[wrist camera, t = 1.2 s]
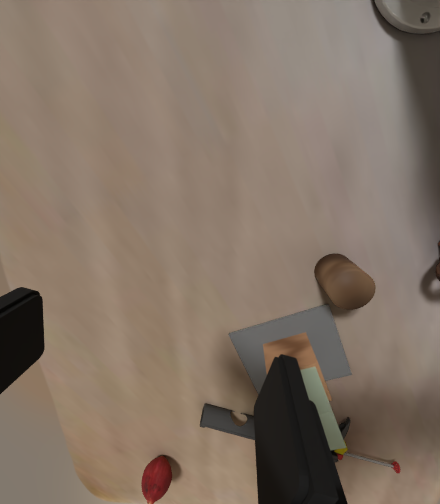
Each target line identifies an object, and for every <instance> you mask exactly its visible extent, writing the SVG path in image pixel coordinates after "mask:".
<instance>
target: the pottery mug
mask: <svg viewBox="0 0 440 504" xmlns="http://www.w3.org/2000/svg"><path fill="white" fill-rule="evenodd" d="M438 245H439V246H440V241H439V243H438ZM439 261H440V258H439ZM436 276H437V278H438V279H439V281H440V262H439V264H438V265H437V266H436Z"/></svg>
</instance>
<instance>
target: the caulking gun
mask: <svg viewBox="0 0 440 504" xmlns="http://www.w3.org/2000/svg"><path fill="white" fill-rule="evenodd" d="M203 409H204V410H203V411H202V415H201V421H200V427H203V428H205V427H208V428H212V429H215V430H219V431H223V432H226V433H230V434H234V435H237V436H241V437H245V438H248V439H252V440H255V428H254V417H253V416H250V415H246V414H244V415H246V416H247V418H248V420H247V422H246V423H245V424H244V425H243V426H237V425H235V424H234V422H233V421H232V419H231V415H230V412H231V410H228V409H224V408H220V407H217V406H213V405H209V404H205V405H204V408H203ZM233 412H235V411H233ZM241 414H242V413H241ZM349 424H350V419H349V417H348V419H347V421H346V423H345V424H344V423H341V424H340V426H339V429H340V432H341V435H342V437H343V440H344V438H345V436H346V434H347V431H348V428H349ZM344 443H345V445H346V442H345V440H344ZM347 450H348V448H347V445H346V448H342V449H336V450H330V451H331V454H332V457H333V460H334V462H337V461H338V459H339V460H341V459H342V458H343V454H344V455H347V456H351V457H355V458H359V459H362V460H366V461H370V462H373V463H377V464H381V465H384V466H388V467H392V468H393V469H394V470H395V472H396V473H400V466H399V464H398V463H397V462H396V461H395V462H393V463H391V464H388V463H384V462H380V461H376V460H373V459H369V458H365V457H362V456H358V455H354V454H351V453H347V452H346V451H347ZM396 464H397V465H396Z"/></svg>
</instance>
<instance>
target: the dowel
mask: <svg viewBox="0 0 440 504" xmlns="http://www.w3.org/2000/svg"><path fill="white" fill-rule="evenodd" d="M314 273H315V277H316V279H317V281H318V282H319V283H320V285H321V286H322V288H323V289H324V290H325V292H326V293H327V295H328V296H329V297H330V299H331V300H332V302H333V303H334V304H335V305H336V306H338V307H340V308H342V309H347V310H352V309H357V308H360V307H363V306H364V305H366V304H367V303H368V302H369V301H370V300H371V299H372V298H373V296H374V293H375V283H374V281H373V279H372V278H371V277H370V276H369V275H368V274H366V273H365V272H364V271H363V270H362V269H360V268H359V267H358V266H357V265H355V264H354V263H353V262H352V261H350V260H349V259H348V258H347V257H345V256H343V255H341V254H329V255H326V256H324V257H323V258H321V259H320V260H319V261H318V263H317V264H316V266H315V270H314Z"/></svg>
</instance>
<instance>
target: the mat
mask: <svg viewBox="0 0 440 504" xmlns="http://www.w3.org/2000/svg"><path fill="white" fill-rule="evenodd" d="M305 332H306V334H307V337H308V339H309V341H310V344H311V346H312V349H313V351H314V354H315V356H316V359H317V361H318V364H319V366H320V369H321V372H322V374H323V377H324V380H325V381H327V380H331V379H336V378H340V377H344V376H349V375H352V374H351V371H350V367H349V364H348V361H347V358H346V355H345V352H344V349H343V346H342V343H341V340H340V337H339V334H338V331H337V328H336V325H335V322H334V319H333V316H332V313H331V310H330V307H329V304H325V305H322V306H319V307H315V308H312V309H309V310H305V311H302V312H299V313H295V314H292V315H289V316H285V317H282V318H278V319H275V320H272V321H268V322H265V323H262V324H258V325H255V326H252V327H248V328H245V329H242V330H238V331H235V332H232V333H229V336H230V338H231V340H232V342H233V344H234V346H235V348H236V350H237V352H238V354H239V356H240V358H241V361H242V363H243V365H244V367H245V369H246V371H247V373H248V375H249V377H250V379H251V381H252V383H253V385H254V387H255V389H256V391H257V393H258V395H259V393H260V391H261V388H262V386H263V383H264V381H265V379H266V376H267V373H266V365H265V357H264V350H263V344H265V343H269V342H272V341H276V340H280V339H283V338H287V337H290V336H294V335H298V334H301V333H305Z"/></svg>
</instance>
